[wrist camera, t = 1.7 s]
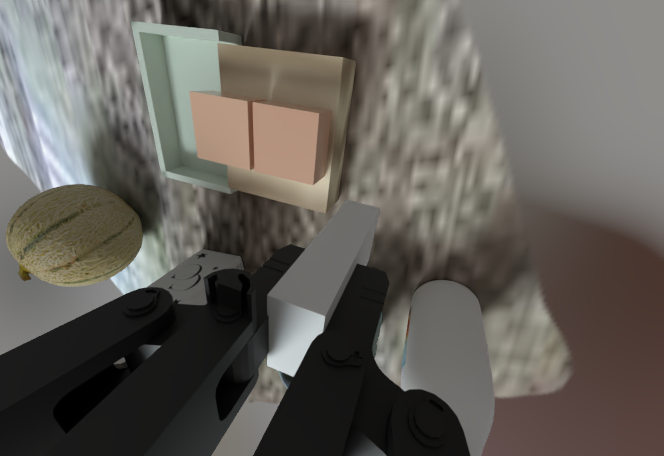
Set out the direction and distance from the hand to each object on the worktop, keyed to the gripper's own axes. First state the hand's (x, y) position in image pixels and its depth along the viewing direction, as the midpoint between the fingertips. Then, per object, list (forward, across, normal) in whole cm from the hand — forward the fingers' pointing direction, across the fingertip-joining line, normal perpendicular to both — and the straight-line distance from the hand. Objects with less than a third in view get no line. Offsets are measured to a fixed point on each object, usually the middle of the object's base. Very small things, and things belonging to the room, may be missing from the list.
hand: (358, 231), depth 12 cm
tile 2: (+14, -16, 0) cm, 21 cm away
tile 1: (+14, -10, 0) cm, 17 cm away
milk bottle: (+18, +9, -17) cm, 26 cm away
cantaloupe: (+18, -42, -19) cm, 50 cm away
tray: (+18, -24, 0) cm, 30 cm away
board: (+18, -12, 0) cm, 22 cm away
